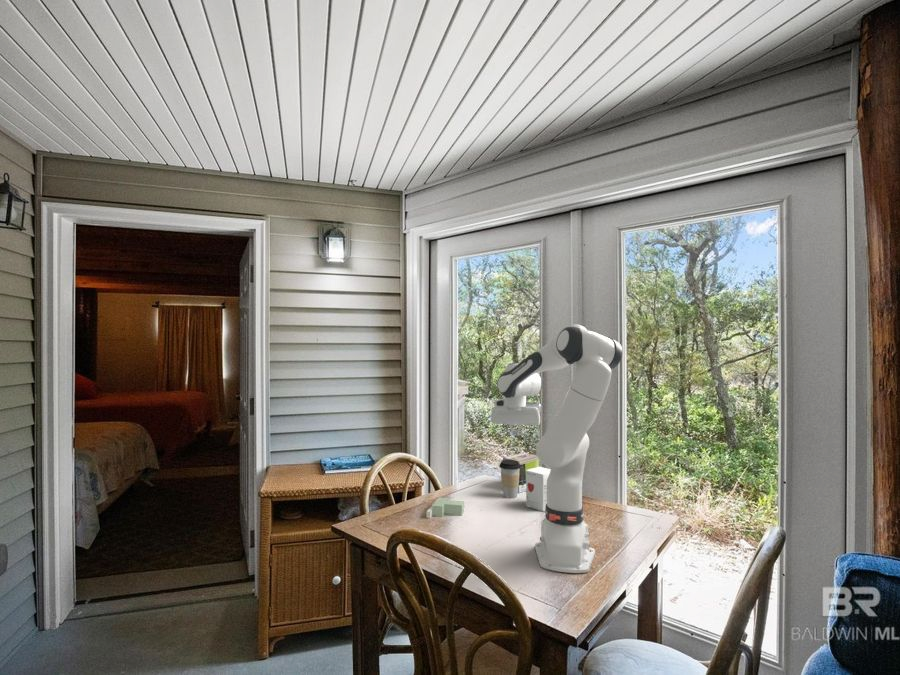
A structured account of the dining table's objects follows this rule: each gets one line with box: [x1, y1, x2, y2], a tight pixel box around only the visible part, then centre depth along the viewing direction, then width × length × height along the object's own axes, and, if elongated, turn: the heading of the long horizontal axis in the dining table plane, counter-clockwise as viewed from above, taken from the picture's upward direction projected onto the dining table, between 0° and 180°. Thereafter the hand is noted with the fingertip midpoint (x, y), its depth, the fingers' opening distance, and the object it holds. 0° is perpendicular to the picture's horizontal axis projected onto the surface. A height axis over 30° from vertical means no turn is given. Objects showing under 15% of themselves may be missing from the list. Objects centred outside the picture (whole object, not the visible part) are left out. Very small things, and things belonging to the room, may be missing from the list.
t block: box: [431, 497, 465, 518], centre depth 184 cm, size 10×11×4 cm
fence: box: [426, 497, 466, 519], centre depth 185 cm, size 16×12×2 cm
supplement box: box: [525, 466, 551, 512], centre depth 191 cm, size 9×9×15 cm
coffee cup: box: [498, 459, 521, 499], centre depth 204 cm, size 9×9×15 cm
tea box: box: [502, 452, 540, 494], centre depth 217 cm, size 15×10×15 cm
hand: (515, 435), depth 192 cm, fingers closed
